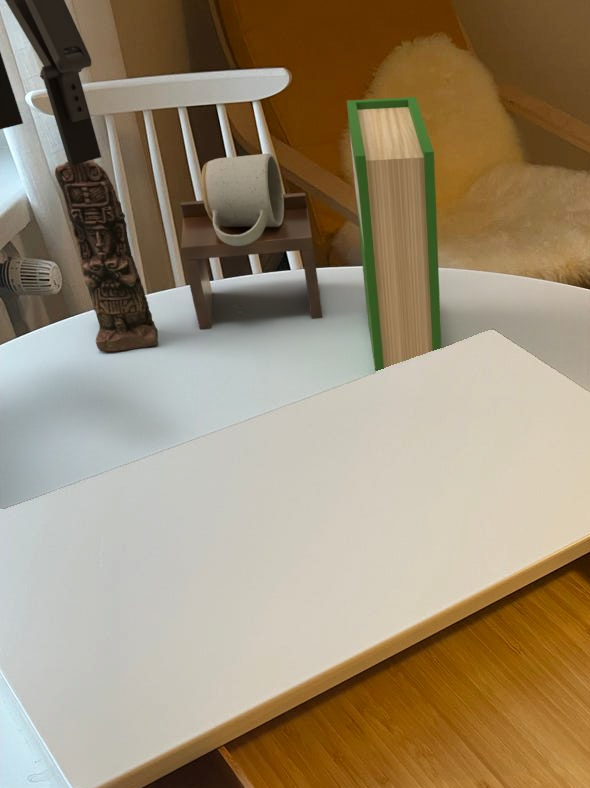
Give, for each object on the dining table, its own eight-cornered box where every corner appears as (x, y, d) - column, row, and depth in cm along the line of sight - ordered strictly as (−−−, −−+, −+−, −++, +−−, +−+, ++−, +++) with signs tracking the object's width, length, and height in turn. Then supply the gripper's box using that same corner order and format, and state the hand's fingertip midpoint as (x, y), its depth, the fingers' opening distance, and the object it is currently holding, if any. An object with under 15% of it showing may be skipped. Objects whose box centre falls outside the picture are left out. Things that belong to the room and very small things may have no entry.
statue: (98, 354, 110) (41, 175, 96) (100, 327, 115) (46, 152, 101) (158, 347, 112) (110, 169, 98) (158, 320, 117) (112, 147, 102)
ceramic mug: (220, 212, 115) (206, 144, 109) (287, 211, 115) (276, 144, 109) (202, 249, 108) (187, 179, 102) (274, 248, 108) (262, 178, 102)
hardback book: (442, 380, 106) (433, 151, 89) (377, 385, 105) (355, 156, 88) (426, 309, 118) (415, 97, 101) (367, 313, 117) (346, 100, 100)
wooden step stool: (199, 329, 115) (177, 234, 107) (201, 293, 122) (180, 201, 114) (322, 317, 117) (310, 223, 109) (317, 283, 124) (305, 192, 116)
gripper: (83, -167, 64) (160, 164, 79) (-78, -186, 76) (15, 104, 91) (-23, -158, 60) (80, 188, 75) (-174, -180, 72) (-60, 122, 87)
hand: (45, 143), depth 83 cm, fingers open, 13 cm apart
